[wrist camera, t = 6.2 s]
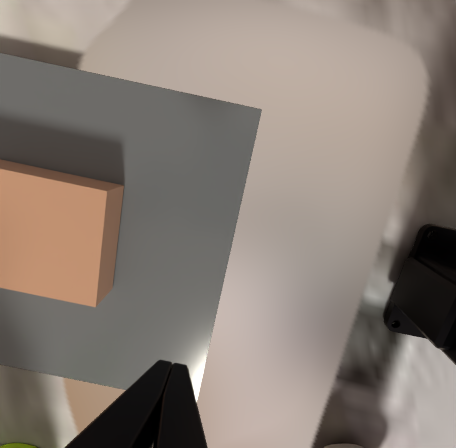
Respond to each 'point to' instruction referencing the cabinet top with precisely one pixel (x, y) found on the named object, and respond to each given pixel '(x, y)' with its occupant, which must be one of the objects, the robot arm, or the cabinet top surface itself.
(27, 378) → the cabinet top surface
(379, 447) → the cabinet top surface
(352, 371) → the cabinet top surface
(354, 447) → the grey lumpy pointed piece
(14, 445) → the soap dispenser
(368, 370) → the cabinet top surface
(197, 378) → the slate board
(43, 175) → the tile
